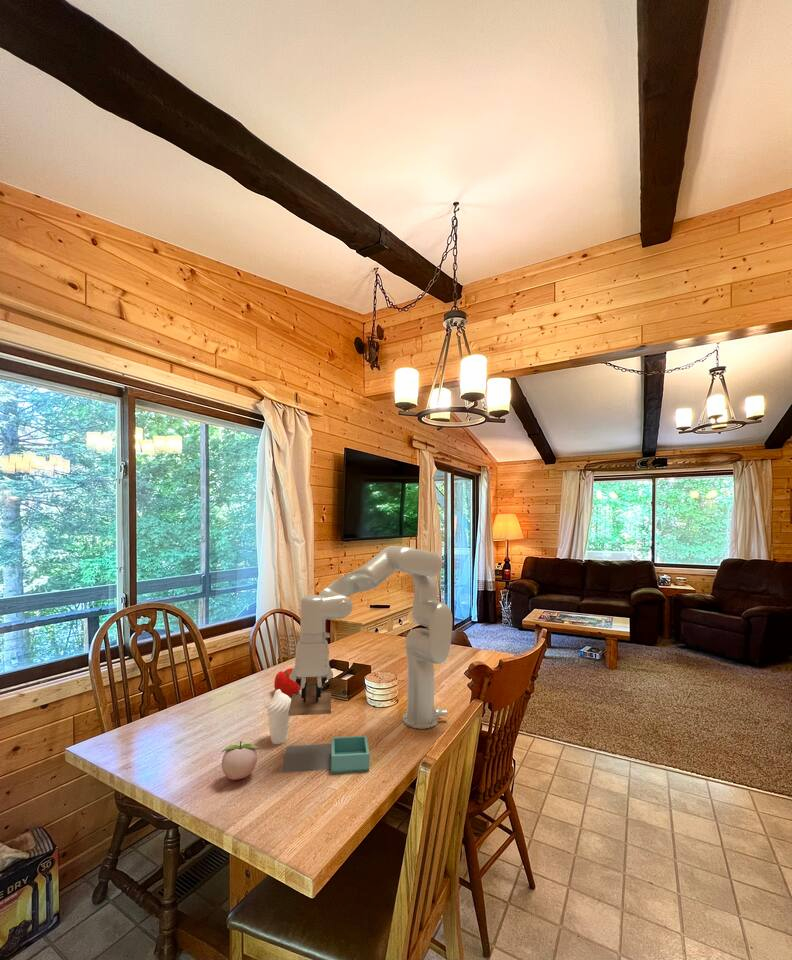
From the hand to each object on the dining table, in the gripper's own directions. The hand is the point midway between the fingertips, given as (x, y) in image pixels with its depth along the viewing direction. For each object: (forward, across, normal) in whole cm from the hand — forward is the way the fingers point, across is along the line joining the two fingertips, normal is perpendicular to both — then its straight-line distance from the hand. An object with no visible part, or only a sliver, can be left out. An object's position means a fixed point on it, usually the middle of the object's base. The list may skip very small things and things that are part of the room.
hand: (311, 699), depth 130 cm
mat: (+17, 0, 0) cm, 17 cm away
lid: (+2, 0, 0) cm, 2 cm away
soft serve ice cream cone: (+17, +10, -11) cm, 23 cm away
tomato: (+17, +11, -49) cm, 53 cm away
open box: (+17, -12, +4) cm, 21 cm away
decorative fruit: (+17, +18, +9) cm, 27 cm away
